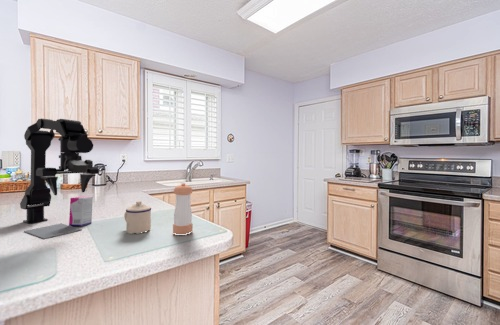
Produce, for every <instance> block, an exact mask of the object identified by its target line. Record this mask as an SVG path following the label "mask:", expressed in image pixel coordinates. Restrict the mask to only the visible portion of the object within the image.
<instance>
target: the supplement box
mask: <svg viewBox="0 0 500 325" xmlns="http://www.w3.org/2000/svg"><path fill="white" fill-rule="evenodd" d="M93 200H94V198H93V196H76V197H70V204H69V219H68V225H69V226H72V227H84V226H87V225H90V224H92V223H93V222H92V221H93Z"/></svg>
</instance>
